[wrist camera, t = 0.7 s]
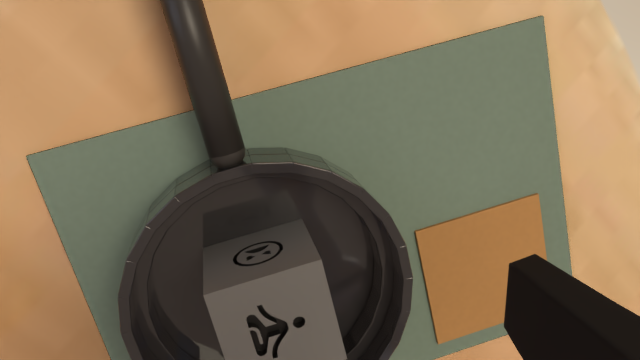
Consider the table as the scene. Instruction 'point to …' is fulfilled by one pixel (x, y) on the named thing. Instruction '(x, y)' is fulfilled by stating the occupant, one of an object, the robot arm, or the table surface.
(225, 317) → the dice cube
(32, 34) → the table surface
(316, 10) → the table surface
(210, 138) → the pan handle
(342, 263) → the frying pan
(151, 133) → the desk mat
